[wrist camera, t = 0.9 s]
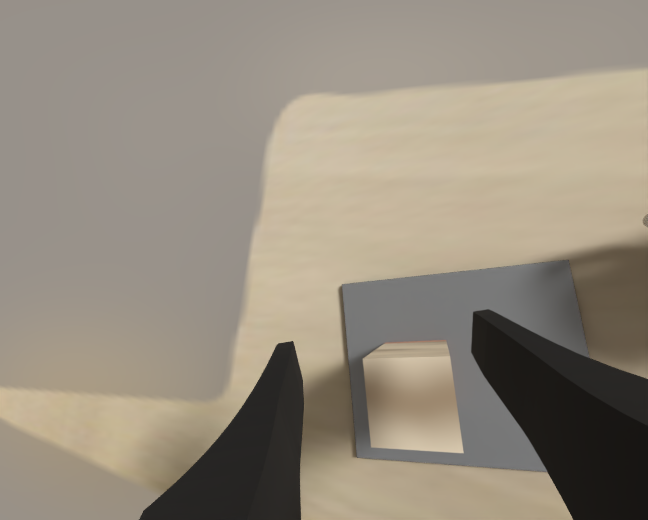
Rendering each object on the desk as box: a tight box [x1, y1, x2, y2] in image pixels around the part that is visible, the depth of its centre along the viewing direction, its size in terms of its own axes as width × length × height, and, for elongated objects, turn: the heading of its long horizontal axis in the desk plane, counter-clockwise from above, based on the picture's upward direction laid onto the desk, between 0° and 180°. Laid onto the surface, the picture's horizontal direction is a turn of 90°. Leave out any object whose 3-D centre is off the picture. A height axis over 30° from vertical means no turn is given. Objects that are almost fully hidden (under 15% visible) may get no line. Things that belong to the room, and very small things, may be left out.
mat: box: [342, 260, 589, 472], centre depth 26 cm, size 15×18×1 cm
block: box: [363, 340, 464, 453], centre depth 22 cm, size 5×5×9 cm
